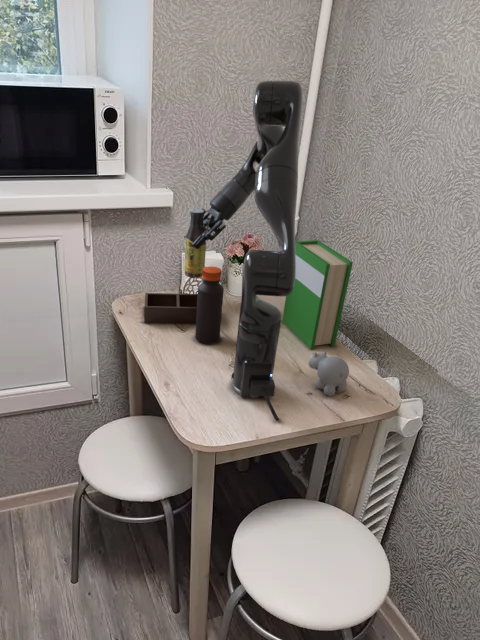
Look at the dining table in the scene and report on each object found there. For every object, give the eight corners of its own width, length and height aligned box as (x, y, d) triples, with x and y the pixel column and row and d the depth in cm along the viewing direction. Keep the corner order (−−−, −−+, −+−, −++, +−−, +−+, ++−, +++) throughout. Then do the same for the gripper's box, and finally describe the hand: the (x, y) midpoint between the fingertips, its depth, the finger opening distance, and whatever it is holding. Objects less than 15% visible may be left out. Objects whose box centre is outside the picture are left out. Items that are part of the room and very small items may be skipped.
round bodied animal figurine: (321, 369, 134) (327, 339, 129) (350, 393, 124) (358, 363, 120) (297, 374, 131) (302, 344, 126) (325, 399, 122) (332, 368, 117)
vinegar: (206, 347, 140) (211, 276, 130) (190, 337, 145) (193, 268, 134) (224, 340, 144) (230, 270, 133) (208, 330, 148) (212, 263, 138)
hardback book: (334, 346, 144) (352, 262, 131) (310, 349, 142) (326, 264, 129) (304, 318, 158) (318, 240, 145) (282, 320, 156) (294, 241, 143)
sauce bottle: (180, 273, 163) (182, 208, 152) (199, 270, 165) (201, 206, 155) (189, 280, 158) (191, 213, 147) (208, 277, 160) (211, 211, 150)
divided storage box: (211, 324, 152) (212, 308, 149) (144, 323, 151) (144, 307, 148) (208, 309, 160) (209, 294, 158) (145, 308, 159) (145, 292, 157)
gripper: (211, 185, 156) (173, 228, 159) (232, 197, 145) (191, 243, 148) (226, 202, 161) (189, 243, 163) (247, 215, 150) (207, 259, 152)
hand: (190, 243), depth 155 cm, fingers closed on sauce bottle, 6 cm apart
